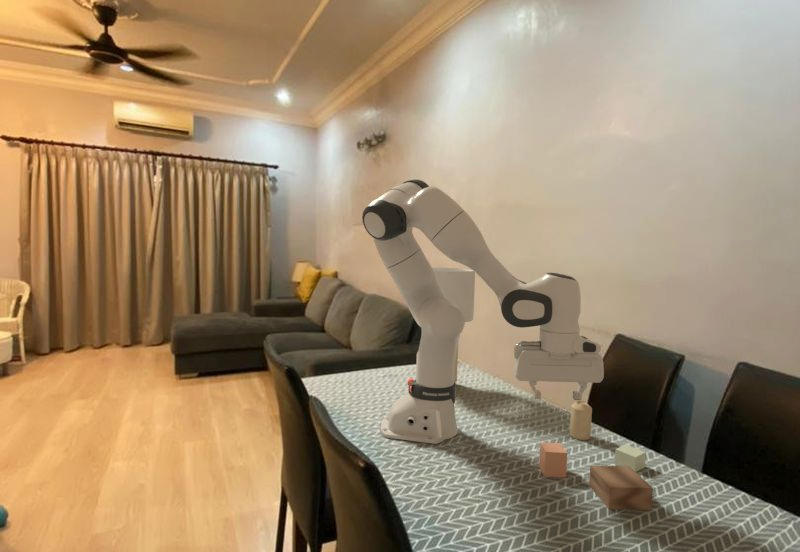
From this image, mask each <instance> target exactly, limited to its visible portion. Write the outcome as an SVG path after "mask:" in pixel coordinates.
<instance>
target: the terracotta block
mask: <svg viewBox="0 0 800 552" xmlns="http://www.w3.org/2000/svg"><path fill="white" fill-rule="evenodd" d="M538 457H539V458H538V459H539V460H538V467H539V468H540V471H541V473H542V475H543V477H550V478H551V477H554V478H567V467H568V452H567V450H566V449H565V448H564V445H563V444H562V443H560V442H559V443H557V442H540V443H539V456H538Z"/></svg>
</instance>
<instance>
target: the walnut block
mask: <svg viewBox="0 0 800 552" xmlns="http://www.w3.org/2000/svg"><path fill="white" fill-rule="evenodd" d="M588 487H590V489H591V490H592V491H593V493H595V495H596V496H597V497H598V499H600V501H601V502H602V503H603V504H604V506H605V507H606V508H607V509H608V510H612V511H613V510H620V511H621V510H623V511H624V510H625V511H627V510H629V511H631V510H635V511H637V510H639V511H640V510H641V511H643V510H644V511H647V510H648V511H651V510H652V505H653V504H652V503H653V491H654V490H653V489H654V488H653V486H651V485H650V484H649V483H648V482H647V481H646V480H645V479H644V478H643V477H642V476H640V475H639V474H638V473H637V472H635V471H634V470H633V469H632V468H631V467H630V466H618V465H590V467H589V484H588Z"/></svg>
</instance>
